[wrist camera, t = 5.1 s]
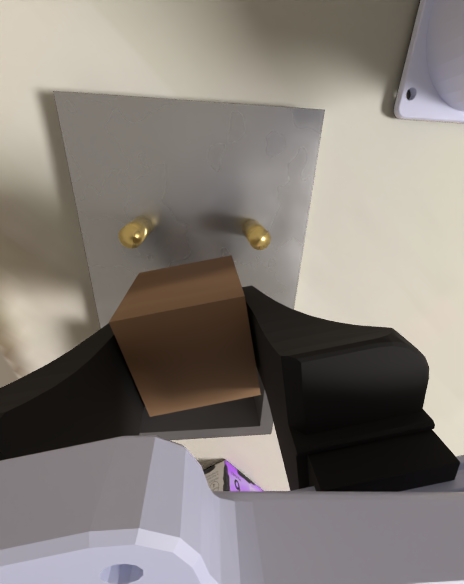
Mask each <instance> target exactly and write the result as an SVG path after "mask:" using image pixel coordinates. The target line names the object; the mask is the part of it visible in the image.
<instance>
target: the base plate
mask: <svg viewBox="0 0 464 584" xmlns="http://www.w3.org/2000/svg"><path fill="white" fill-rule="evenodd" d="M53 92H54V97H55V102H56V107H57V112H58V117H59V122H60V127H61V132H62V137H63V142H64V147H65V152H66V157H67V162H68V167H69V172H70V177H71V182H72V187H73V192H74V197H75V202H76V208H77V213H78V218H79V223H80V228H81V233H82V238H83V243H84V248H85V253H86V258H87V263H88V268H89V273H90V278H91V283H92V288H93V293H94V298H95V303H96V308H97V313H98V318H99V323H100V328H103V327H104V326H105V325H107V324H108V323H109V321H110V319H111V318H112V316H113V315H114V313H115V311H116V310H117V308H118V306H119V305H120V303H121V301H122V300H123V298H124V297H125V295H126V293H127V292H128V290H129V288H130V287H131V285H132V284H133V282H134V280H135V279H136V277H137V275H138V274H139V273H141V272H146V271H151V270H157V269H162V268H167V267H172V266H178V265H183V264H188V263H193V262H199V261H204V260H209V259H214V258H220V257H225V256H230V255H232V258H233V261H234V264H235V267H236V270H237V274H238V277H239V280H240V283H241V286H242V287H246V286H251V285H252V286H254V287H255V288H256V289H258V290H259V291H261V292H262V293H264V294H265V295H267V296H268V297H270V298H272V299H273V300H275V301H277V302H279V303H281V304H283V305H285V306H287V307H289V308H291V309H293V310H294V305H295V298H296V292H297V285H298V279H299V273H300V266H301V260H302V253H303V247H304V240H305V234H306V228H307V221H308V215H309V208H310V202H311V196H312V189H313V183H314V176H315V170H316V164H317V157H318V151H319V144H320V138H321V132H322V125H323V119H324V112H325V110H321V109H306V108H292V107H277V106H263V105H248V104H234V103H219V102H205V101H190V100H176V99H161V98H147V97H132V96H118V95H103V94H88V93H74V92H59V91H53Z"/></svg>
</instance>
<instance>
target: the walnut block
mask: <svg viewBox="0 0 464 584" xmlns="http://www.w3.org/2000/svg"><path fill="white" fill-rule="evenodd" d="M109 324H110V326H111V328H112V331H113V333H114V335H115V338H116V340H117V342H118V345H119V347H120V349H121V351H122V354H123V356H124V358H125V361H126V363H127V365H128V368H129V370H130V372H131V375H132V377H133V379H134V381H135V384H136V386H137V388H138V391H139V393H140V395H141V398H142V400H143V402H144V404H145V407H146V409H147V411H148V414H149V416H150V417H152V416H157V415H162V414H167V413H172V412H177V411H182V410H187V409H192V408H197V407H202V406H207V405H212V404H217V403H222V402H227V401H232V400H237V399H242V398H247V397H252V396H257V395H261V393H260V387H259V381H258V375H257V369H256V362H255V356H254V350H253V344H252V338H251V332H250V325H249V319H248V313H247V307H246V301H245V295H244V292H243V289H242V286H241V283H240V280H239V277H238V274H237V270H236V267H235V264H234V261H233V258H232V255H230V256H225V257H220V258H214V259H209V260H204V261H199V262H193V263H188V264H183V265H178V266H172V267H167V268H162V269H157V270H151V271H146V272H141V273H139V274H138V275H137V277H136V279H135V280H134V282H133V284H132V285H131V287H130V288H129V290H128V292H127V293H126V295H125V297H124V298H123V300H122V301H121V303H120V305H119V306H118V308H117V310H116V311H115V313H114V315H113V316H112V318H111V319H110V321H109Z"/></svg>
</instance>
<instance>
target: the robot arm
mask: <svg viewBox="0 0 464 584" xmlns="http://www.w3.org/2000/svg"><path fill="white" fill-rule="evenodd" d="M408 90H410V92H411V97H410V99H409V100H407V98H406V93H407V91H408ZM394 114H395V116H396V117H397V118H399V119H407V120H421V121H436V122H451V123H464V0H421V1H420V5H419V9H418V13H417V17H416V21H415V25H414V29H413V33H412V37H411V41H410V45H409V49H408V53H407V57H406V61H405V66H404V70H403V74H402V78H401V82H400V86H399V90H398V94H397V98H396V102H395V106H394ZM242 289H243V292H244V295H245V301H246V307H247V313H248V319H249V325H250V332H251V338H252V344H253V350H254V356H255V362H256V367H257V370H258V373H259V375H260V378H261V381H262V383H263V386H264V389H265V392H266V395H267V399H268V402H269V406H270V410H271V414H272V418H273V422H274V426H275V430H276V434H277V438H278V442H279V446H280V450H281V454H282V458H283V462H284V466H285V470H286V474H287V478H288V482H289V487H290V491H211V489H210V488H209V486H208V483H207V480H206V477H205V475H204V472H203V469H202V466H201V465H200V464H199V462H198V461H197V460H196V459H195V458H194V457H193V455H192V454H191V453H190V452H189V451H188V450H187V449H186V448H185V447H184V446H183V445H181V444H178V443H175V442H172V441H170V440H167V439H164V438H161V437H158V436H156V435H144V436H139V433H140V426H141V420H142V416H143V411H144V407H145V404H144V402H143V400H142V398H141V395H140V393H139V391H138V388H137V386H136V384H135V381H134V379H133V377H132V375H131V372H130V370H129V368H128V365H127V363H126V361H125V358H124V356H123V354H122V351H121V349H120V347H119V345H118V342H117V340H116V338H115V335H114V333H113V331H112V328H111V326H110V324H109V323H108V324H107V325H105V326H104V327H103V328H101V329H100V330H99V331H97V332H96V333H95V334H93V335H92V336H90V337H89V338H88V339H86V340H85V341H83V342H82V343H81V344H79V345H78V346H76V347H75V348H73V349H72V350H70V351H69V352H67V353H66V354H64V355H62V356H61V357H59V358H57V359H56V360H54V361H52V362H51V363H49V364H47V365H45V366H43V367H42V368H40V369H38V370H36V371H34V372H32V373H30V374H28V375H26V376H24V377H22V378H20V379H18V380H16V381H14V382H13V383H10V384H8V385H6V386H4V387H2V388H0V584H464V455H461V456H457V457H455V455H454V454H453V453H452V452H451V451H450V450H449V449H448V447H447V446H446V445H445V444H444V443H443V442H442V441H441V439H440V438H439V437H438V436H437V435H436V434H435V433H434V431H433V430H432V429H434V426H435V424H434V422H433V420H432V419H431V418H430V417H429V415H428V414H427V413H426V412H425V411H424V410H423V409H422V408H423V403H424V399H425V394H426V389H427V384H428V379H429V366H428V363H427V360H426V358H425V356H424V355H423V354H422V353H421V352H420V351H419V350H418V349H417V348H416V347H414V346H413V345H412V344H411V343H410V342H409V341H407V340H406V339H405V338H404V337H403V336H401V335H400V334H399V333H398V332H397V331H395V330H394V329H393V328H386V327H372V326H359V325H352V324H345V323H339V322H334V321H329V320H325V319H321V318H317V317H313V316H310V315H307V314H304V313H301V312H298V311H296V310H293V309H291V308H289V307H287V306H285V305H283V304H281V303H279V302H277V301H275V300H273V299H272V298H270V297H268V296H267V295H265V294H264V293H262V292H261V291H259V290H258V289H256V288H255V287H254V286H252V285H251V286H246V287H242Z"/></svg>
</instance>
